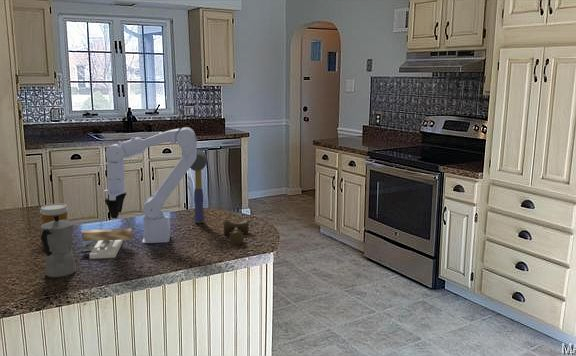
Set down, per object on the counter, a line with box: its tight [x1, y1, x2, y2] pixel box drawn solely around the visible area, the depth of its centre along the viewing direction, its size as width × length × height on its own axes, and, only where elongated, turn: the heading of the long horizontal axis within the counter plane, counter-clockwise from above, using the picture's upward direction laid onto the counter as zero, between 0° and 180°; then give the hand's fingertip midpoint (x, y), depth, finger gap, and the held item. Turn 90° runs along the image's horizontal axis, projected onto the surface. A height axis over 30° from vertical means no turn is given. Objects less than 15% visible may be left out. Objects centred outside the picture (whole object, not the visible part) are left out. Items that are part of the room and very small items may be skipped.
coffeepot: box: [40, 215, 77, 278], centre depth 146 cm, size 15×9×18 cm, turn 179°
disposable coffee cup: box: [39, 203, 69, 224], centre depth 179 cm, size 10×10×12 cm
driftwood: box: [80, 240, 98, 253], centre depth 175 cm, size 21×7×2 cm, turn 12°
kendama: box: [223, 218, 250, 246], centre depth 184 cm, size 6×10×20 cm
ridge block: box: [89, 240, 124, 260], centre depth 168 cm, size 8×16×4 cm, turn 9°
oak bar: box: [81, 227, 133, 242], centre depth 167 cm, size 16×3×3 cm, turn 99°
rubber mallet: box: [189, 149, 208, 224], centre depth 198 cm, size 12×8×30 cm, turn 7°
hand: (116, 215), depth 175 cm, fingers open, 7 cm apart
